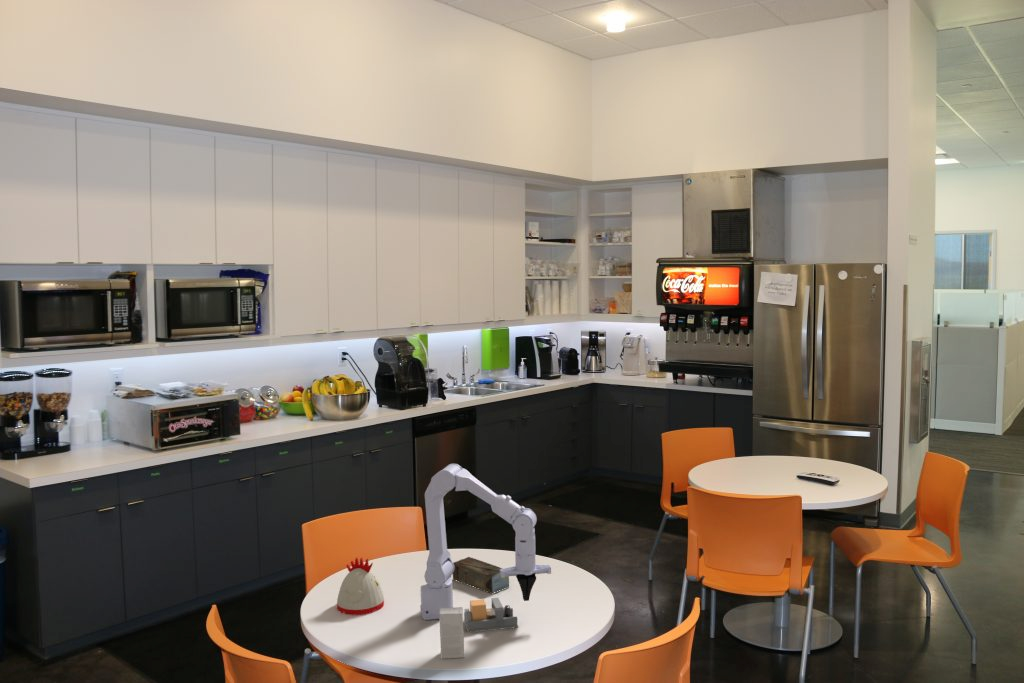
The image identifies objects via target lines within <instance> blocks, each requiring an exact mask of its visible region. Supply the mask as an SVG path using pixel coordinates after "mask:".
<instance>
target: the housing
mask: <svg viewBox="0 0 1024 683" xmlns="http://www.w3.org/2000/svg"><path fill="white" fill-rule="evenodd" d="M503 607H504V606H503V604H502V602H501V600H500V598H499V597H492V598H491V608H495V612H496V618H495V619H486V620H476V621H472V616H471V613H470V608H464V613H463V622H464V624H465V626H466V627H465V628H466V629H467V632H468V633H474V632H475V633H476V632H484V631H493V630H495V631H496V630H502V629H501V628H505V629H513V627H514V628H518V627H519V626H518V617H517V616H514V609H513V607H510V612H511V617H505V618H503Z"/></svg>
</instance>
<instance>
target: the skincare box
mask: <svg viewBox="0 0 1024 683" xmlns="http://www.w3.org/2000/svg"><path fill="white" fill-rule="evenodd" d="M439 637H440V639H439V640H440V658H441V660H442V659H443V660H444V659H461V658H464V657H465V639H464V638H465V636H464V613H463V607H462V606H459V607H453V608H440V613H439Z"/></svg>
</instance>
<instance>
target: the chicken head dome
mask: <svg viewBox="0 0 1024 683" xmlns="http://www.w3.org/2000/svg"><path fill="white" fill-rule="evenodd" d="M373 563H374V562H371V563H370V564H369V558H366V560H365V562H364V559H363V557H361V558H360V559H359V558H358V557H355V561H353V560H351V561H350V565H351V566H350V565H349V564H348V563H347V564H346V568H347V570H348V573H347V574H346V576H344V578H343V580H342V582H341V585H340V588H339V591H338V594H337V595H338V596H337V599H336V600H337V601H336V605H337V606H336V609H337V611H338V612H339V613H341V614H344V615H349V616H362V615H368V614H372V613H375V612H377V611H379V610H381V609H383V607H384V605H385V598H384V592H383V590H382V589H383V588H382V587H381V585H380V582H379V580H378V578H377V577H376V576H375V575H374V573H373V572H372V571H371V569H372V567H373Z"/></svg>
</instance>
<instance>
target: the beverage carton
mask: <svg viewBox="0 0 1024 683" xmlns="http://www.w3.org/2000/svg"><path fill="white" fill-rule="evenodd" d="M452 562H453V561H452ZM453 564H454V572H453V574H452V580H453V579H454V580H453V581H455V580H457V581H456V582H458V581H459V582H458V583H461V582H462V583H461V584H464V583H465V584H464V585H466V584H468V585H467V586H469V585H471V586H470V587H472V586H474V587H476V588H475V589H477V588H479V589H478V590H480V589H482V590H481V591H483V590H485V591H484V592H486V591H488V592H487V593H489V592H491V593H490V594H492V593H494V592H496V593H498V592H497V591H499V590H501V591H503V590H502V589H504V588H507V587H509V588H510V576H506V577H504V578H501V576H500V569H504V568H502V567H500V566H497V565H494V564H492V563H488V562H485V561H483V560H480V559H477V558H474V557H471V556H468V557H466V558H461V559H459V560H457V561H454V562H453ZM474 587H473V588H474ZM507 589H508V588H507ZM504 590H505V589H504ZM499 592H500V591H499ZM494 594H495V593H494Z"/></svg>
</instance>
